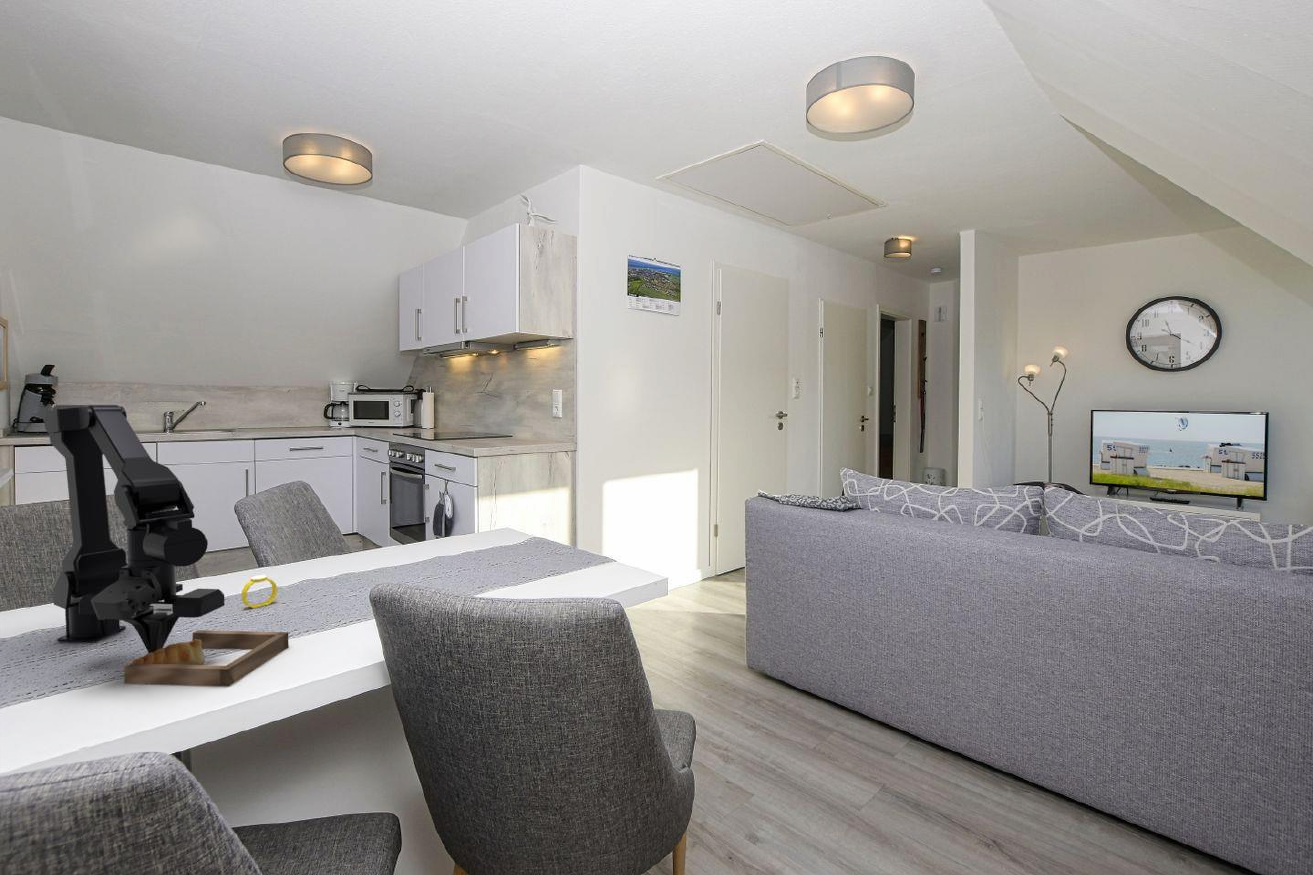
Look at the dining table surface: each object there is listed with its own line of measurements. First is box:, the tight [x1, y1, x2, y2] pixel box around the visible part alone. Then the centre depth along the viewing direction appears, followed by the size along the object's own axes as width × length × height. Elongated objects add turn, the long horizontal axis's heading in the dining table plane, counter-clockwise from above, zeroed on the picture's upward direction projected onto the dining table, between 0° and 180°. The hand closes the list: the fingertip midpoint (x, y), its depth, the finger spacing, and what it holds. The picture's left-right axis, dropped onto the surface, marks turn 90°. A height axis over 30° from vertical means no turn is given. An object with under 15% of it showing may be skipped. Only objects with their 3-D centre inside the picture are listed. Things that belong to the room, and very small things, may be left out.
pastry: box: [131, 639, 206, 665], centre depth 96 cm, size 9×7×4 cm
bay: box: [123, 629, 289, 687], centre depth 98 cm, size 15×14×2 cm
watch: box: [241, 574, 278, 609], centre depth 125 cm, size 6×3×6 cm, turn 145°
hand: (155, 655), depth 98 cm, fingers closed
